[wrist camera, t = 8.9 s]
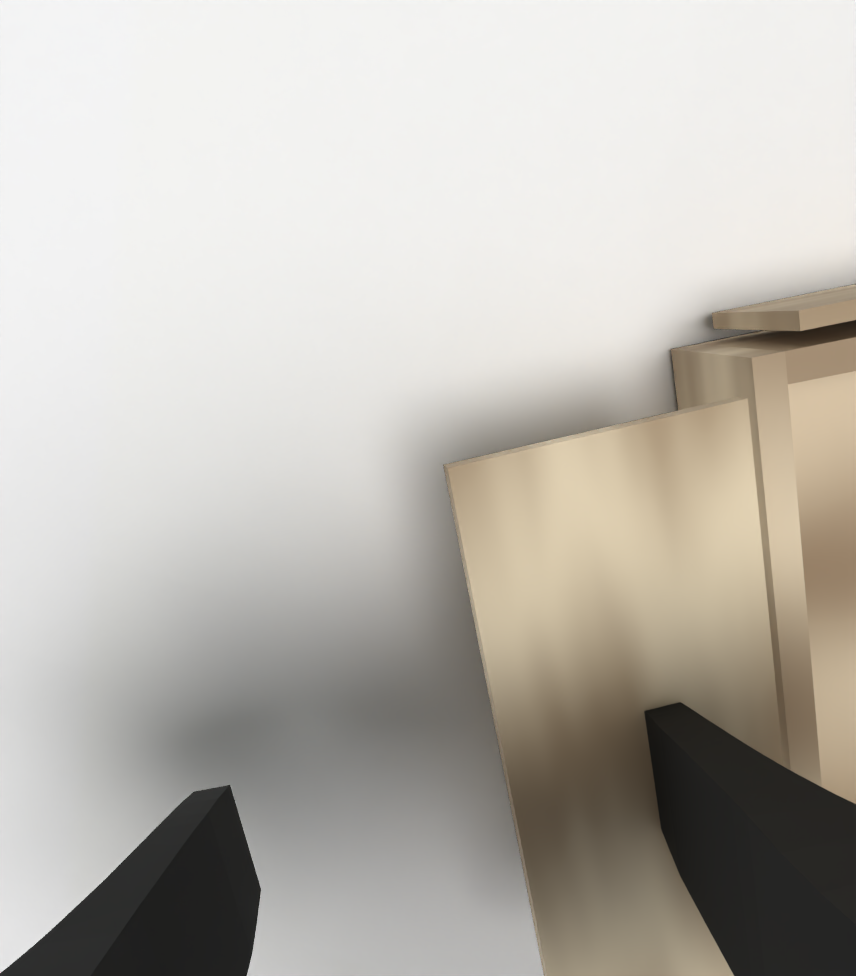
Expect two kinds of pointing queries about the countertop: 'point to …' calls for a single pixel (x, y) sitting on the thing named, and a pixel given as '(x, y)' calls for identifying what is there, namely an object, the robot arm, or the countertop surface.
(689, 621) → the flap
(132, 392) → the countertop surface
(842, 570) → the carton
